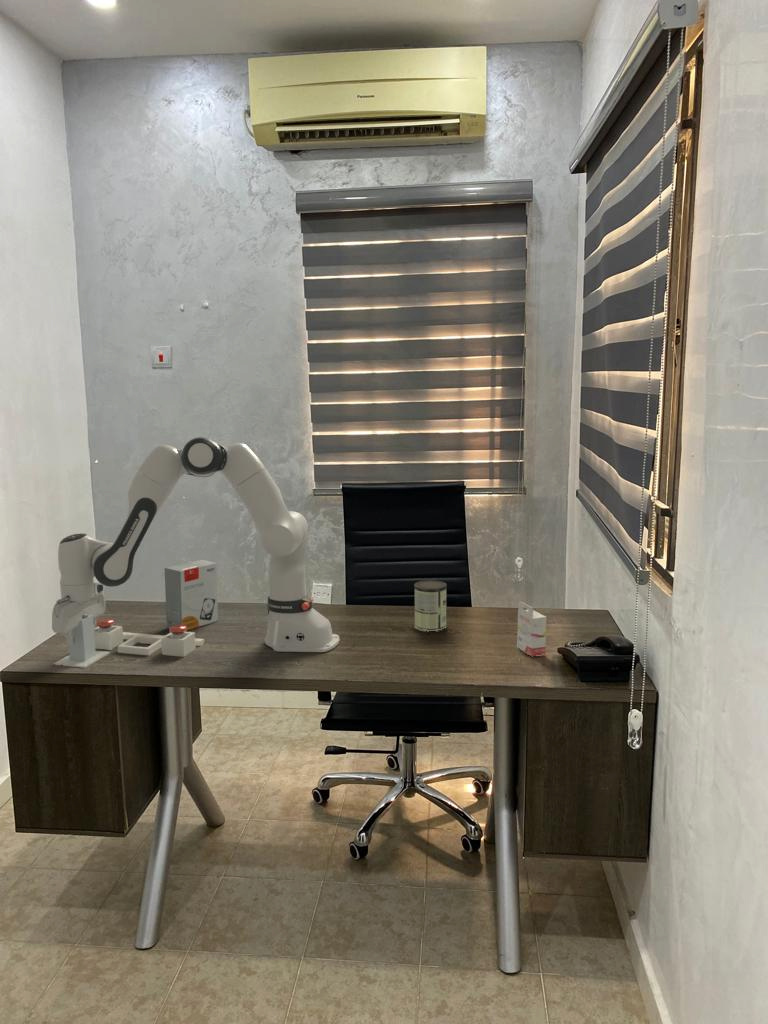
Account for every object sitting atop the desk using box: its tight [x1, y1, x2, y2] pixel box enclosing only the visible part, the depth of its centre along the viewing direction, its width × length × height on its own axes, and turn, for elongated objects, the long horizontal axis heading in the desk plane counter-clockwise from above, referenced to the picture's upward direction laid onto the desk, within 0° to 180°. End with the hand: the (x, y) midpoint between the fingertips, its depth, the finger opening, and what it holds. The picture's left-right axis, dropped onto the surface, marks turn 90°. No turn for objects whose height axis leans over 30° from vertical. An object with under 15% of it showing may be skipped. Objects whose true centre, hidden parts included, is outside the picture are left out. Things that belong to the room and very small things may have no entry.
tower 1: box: [94, 625, 124, 651], centre depth 241 cm, size 7×7×5 cm
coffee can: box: [413, 579, 448, 632], centre depth 256 cm, size 10×10×14 cm
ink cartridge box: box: [516, 600, 547, 656], centre depth 233 cm, size 9×5×15 cm, turn 21°
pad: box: [53, 650, 111, 669], centre depth 230 cm, size 10×12×1 cm
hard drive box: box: [164, 559, 219, 631], centre depth 259 cm, size 16×8×20 cm, turn 143°
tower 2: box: [161, 631, 197, 658], centre depth 235 cm, size 7×7×5 cm
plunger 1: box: [95, 617, 115, 632], centre depth 241 cm, size 5×5×7 cm
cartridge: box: [68, 613, 96, 661], centre depth 229 cm, size 5×5×13 cm
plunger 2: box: [168, 624, 188, 639], centre depth 235 cm, size 5×5×7 cm
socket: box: [117, 631, 205, 656], centre depth 240 cm, size 32×13×2 cm, turn 76°
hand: (81, 638), depth 229 cm, fingers open, 8 cm apart
